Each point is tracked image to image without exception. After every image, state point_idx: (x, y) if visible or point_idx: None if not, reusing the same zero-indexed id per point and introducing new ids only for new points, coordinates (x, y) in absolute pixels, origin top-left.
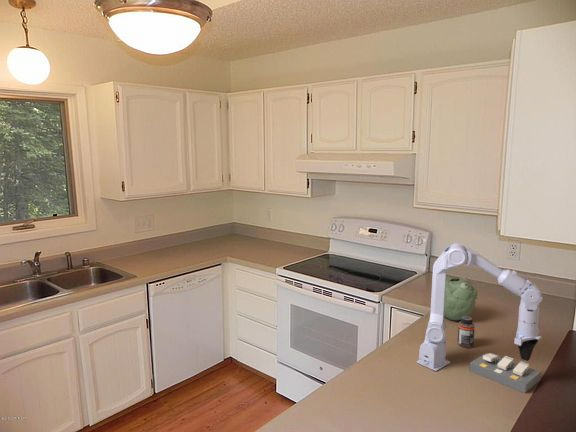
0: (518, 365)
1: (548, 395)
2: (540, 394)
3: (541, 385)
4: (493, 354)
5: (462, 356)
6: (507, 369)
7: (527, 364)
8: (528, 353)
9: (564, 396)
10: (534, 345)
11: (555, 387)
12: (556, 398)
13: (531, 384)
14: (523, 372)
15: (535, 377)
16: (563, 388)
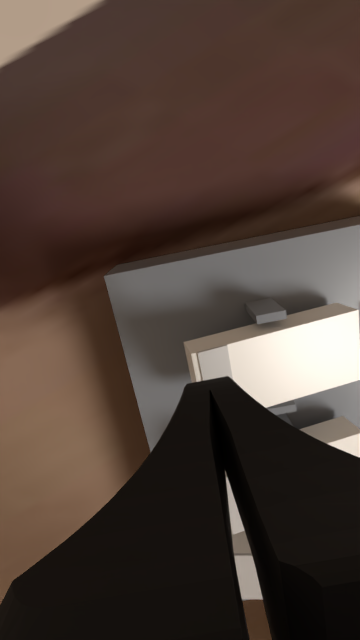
0: (279, 393)
1: (269, 103)
2: (305, 144)
3: (174, 217)
4: (250, 580)
5: (263, 620)
6: (306, 418)
7: (211, 360)
8: (277, 424)
9: (175, 21)
10: (171, 512)
11: (107, 145)
12: (260, 39)
13: (281, 234)
14: (315, 314)
15: (217, 251)
16: (63, 102)
